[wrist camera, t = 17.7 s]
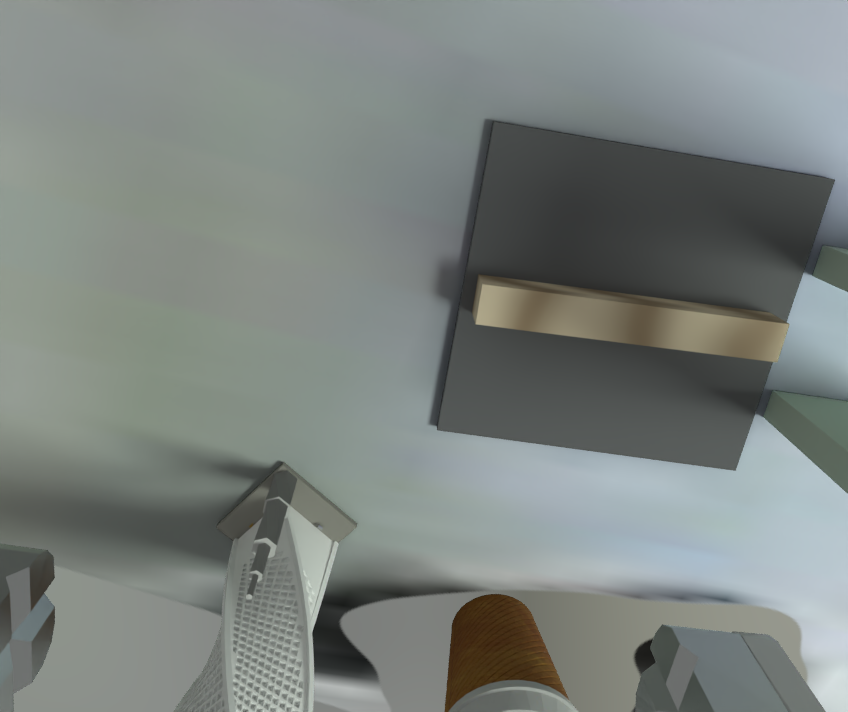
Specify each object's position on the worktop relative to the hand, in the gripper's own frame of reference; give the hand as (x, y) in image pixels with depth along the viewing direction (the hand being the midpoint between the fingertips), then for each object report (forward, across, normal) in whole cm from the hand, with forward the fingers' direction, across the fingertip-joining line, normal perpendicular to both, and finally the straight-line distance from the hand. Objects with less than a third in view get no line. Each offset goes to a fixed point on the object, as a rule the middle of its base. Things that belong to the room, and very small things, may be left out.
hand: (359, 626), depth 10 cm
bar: (+36, -15, +4) cm, 40 cm away
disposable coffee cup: (+37, -12, +30) cm, 49 cm away
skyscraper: (+37, +4, +24) cm, 45 cm away
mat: (+37, -15, +4) cm, 40 cm away
